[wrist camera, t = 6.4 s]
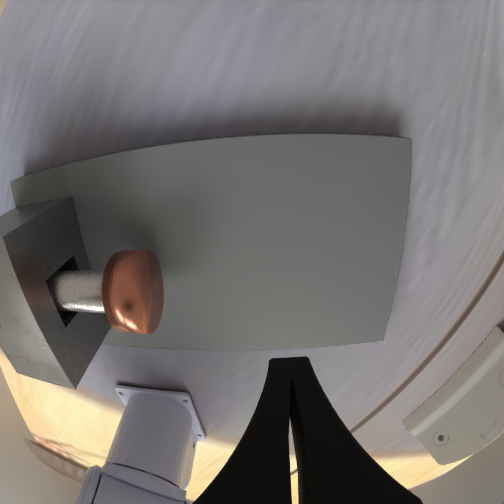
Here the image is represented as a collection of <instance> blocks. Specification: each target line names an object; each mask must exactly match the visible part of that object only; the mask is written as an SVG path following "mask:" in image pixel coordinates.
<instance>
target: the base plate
mask: <svg viewBox="0 0 504 504" xmlns="http://www.w3.org/2000/svg"><path fill="white" fill-rule="evenodd" d="M411 159H412V139H410V138H405V137H399V136H387V135H372V134H351V133H279V134H257V135H241V136H229V137H217V138H207V139H198V140H190V141H182V142H174V143H167V144H161V145H154V146H148V147H142V148H136V149H131V150H126V151H120V152H115V153H110V154H106V155H101V156H96V157H92V158H88V159H83V160H79V161H75V162H71V163H67V164H63V165H60V166H56V167H52V168H49V169H45V170H42V171H39V172H35V173H32V174H29V175H25V176H23V177H20V178H18V179H15V180H13V181H10V182H11V187H12V191H13V196H14V201H15V205H16V207H20V206H24V205H29V204H33V203H38V202H43V201H48V200H53V199H58V198H63V197H68V196H73V200H74V205H75V209H76V214H77V218H78V222H79V226H80V230H81V234H82V238H83V241H84V245H85V248H86V252H87V255H88V259H89V262H90V265H91V268H92V270H105V267H106V264H107V262H108V260H109V259H110V257H111V256H112V255H113V254H114V253H116V252H118V251H129V250H150V251H152V252H153V253H154V255H155V256H156V258H157V260H158V262H159V265H160V268H161V272H162V277H163V286H164V304H163V312H162V317H161V320H160V323H159V325H158V327H157V329H156V330H155V331H154V332H153V333H152V334H137V333H122V332H118V331H116V330H115V329H114V328H113V327H111V329H110V330H109V332H108V334H107V335H106V337H105V338H104V340H103V342H102V343H101V344H110V345H120V346H131V347H144V348H160V349H181V350H275V349H296V348H312V347H326V346H337V345H348V344H357V343H366V342H375V341H383V340H384V336H385V332H386V329H387V325H388V321H389V316H390V312H391V308H392V303H393V299H394V294H395V289H396V284H397V279H398V274H399V269H400V263H401V257H402V251H403V244H404V237H405V230H406V221H407V213H408V203H409V192H410V178H411Z"/></svg>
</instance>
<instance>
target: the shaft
mask: <svg viewBox="0 0 504 504" xmlns="http://www.w3.org/2000/svg"><path fill="white" fill-rule="evenodd" d="M46 284H47V286H48V289H49V291H50V294H51V296H52V299H53V301H54V303H55V306H56V308H57V310H64V311H77V312H92V313H105V314H106V317H107V319H108V321H109V323H110V324H111V326H112V327H113V328H114V329H115V330H116V331H118V332H122V333H137V334H152V333H153V332H154V331H155V330H156V329H157V327H158V325H159V323H160V320H161V317H162V312H163V304H164V286H163V277H162V272H161V268H160V265H159V262H158V260H157V258H156V256H155V255H154V253H153V252H152V251H150V250H129V251H118V252H116V253H114V254H113V255H112V256H111V257H110V259H109V260H108V262H107V264H106V267H105V270H82V271H56V272H55V273H54V274H52V275H51V276H50V277H49V278H48V279H47V280H46Z"/></svg>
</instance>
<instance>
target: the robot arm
mask: <svg viewBox="0 0 504 504" xmlns="http://www.w3.org/2000/svg"><path fill="white" fill-rule="evenodd" d="M115 390H116V392H117V393H118V395H119V397H120V399H121V400H122V402H123V403H124V405H125V410H124V413H123V415H122V418H121V420H120V423H119V426H118V428H117V431H116V434H115V437H114V439H113V442H112V445H111V447H110V450H109V453H108V456H107V459H106V462H105V464H104V465H103V467H102V468H101V467H100V466H98V465H94V467H93V466H92V467H89V468H88V470H87V472H86V475H85V477H84V480H83V483H82V486H81V488H80V491H79V494H78V497H77V500H76V503H75V504H292V497H291V477H290V458H289V439H288V436H289V420H290V421H291V427H292V434H293V441H294V448H295V454H296V461H297V470H298V495H299V504H423V503H422V501H421V499H420V498H418V497H417V496H416V495H414V494H412V493H411V492H410V491H409V490H407V489H406V488H405V487H403V486H402V485H401V484H399V483H398V482H397V481H396V480H395V479H394V478H392V477H391V476H390V475H389V474H388V473H387V472H386V471H385V470H384V469H383V468H382V467H381V466H380V465H379V464H378V463H377V462H376V461H375V460H374V459H373V458H372V457H371V456H370V455H369V454H368V453H367V452H366V451H365V450H364V449H363V448H362V446H361V445H360V444H359V443H358V442H357V440H356V439H355V438H354V437H353V436H352V434H351V433H350V432H349V430H348V429H347V428H346V426H345V425H344V423H343V422H342V420H341V419H340V417H339V416H338V414H337V413H336V411H335V410H334V408H333V407H332V405H331V403H330V402H329V400H328V398H327V396H326V395H325V393H324V391H323V389H322V387H321V385H320V383H319V381H318V379H317V377H316V375H315V373H314V370H313V368H312V365H311V363H310V360H309V358H308V357H290V358H272V359H271V360H269V367H268V373H267V377H266V381H265V384H264V388H263V391H262V394H261V396H260V399H259V402H258V405H257V407H256V410H255V412H254V414H253V416H252V418H251V421H250V423H249V425H248V427H247V429H246V431H245V433H244V435H243V437H242V438H241V440H240V442H239V444H238V445H237V447H236V449H235V450H234V452H233V453H232V455H231V456H230V458H229V459H228V461H227V462H226V464H225V465H224V467H223V468H222V470H221V471H220V472H219V474H218V475H217V476H216V477H215V479H214V480H213V481H212V482H211V483H210V485H209V486H208V487H207V488H206V489H205V491H204V492H203V493H202V494H201V495H200V496H199V497H198V498H197V499H196V500H195V501H194V502H193V503H191V501H190V500H188V499H186V492H187V491H186V490H184V489H185V488H186V487H187V485H188V484H189V482H190V478H191V473H192V467H193V461H194V455H195V450H196V444H197V441H205V440H206V436H205V434H204V431H203V429H202V426H201V424H200V421H199V419H198V416H197V414H196V411H195V408H194V406H193V403H192V400H191V398H190V395H189V394H188V393H185V392H175V391H164V390H154V389H145V388H137V387H129V386H122V385H116V387H115ZM503 504H504V503H503Z"/></svg>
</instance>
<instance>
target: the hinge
mask: <svg viewBox="0 0 504 504" xmlns="http://www.w3.org/2000/svg"><path fill="white" fill-rule="evenodd" d="M402 423H403V425H404V426H405V428H406V429H407V431H408V432H409V433H410V434H412V435H414V436H416V437H417V438H418V439H419V441H420V442H421V443H422V444H423V446H424V447H425V448H426V449H427V450H428V452H429V453H430V454H431V455H432V457H433V458H434V459H435V460H436V462H437V463H438V464H440V465H446V464H449V463H453V462H456V461H458V460H461V459H464V458H466V457H468V456H470V455H472V454H474V453H476V452H478V451H479V450H481V449H482V448H484V447H485V446H487V445H488V444H490V443H491V442H492V441H494V440H495V439H496V438H498V437H499V436H500V435H501V434H502V433H503V432H504V332H503V331H502V330H501V329H500V328H499V327H498V326H495V327H494V328H493V330H492V331H491V332H490V333H489V335H488V336H487V337H486V339H485V340H484V341H483V342H482V343H481V345H480V346H479V347H478V348H477V349H476V351H475V352H474V353H473V354H472V355H471V356H470V357H469V359H468V360H467V361H466V362H465V363H464V364H463V365H462V366H461V367H460V368H459V369H458V371H457V372H456V373H455V374H454V375H453V376H452V377H451V378H450V379H449V380H448V381H447V382H446V383H445V384H444V385H443V386H442V387H441V388H440V389H439V390H438V391H437V392H436V393H435V394H434V395H432V396H431V397H430V398H429V399H428V400H427V401H426V402H425V403H424V404H423V405H421V406H420V407H419V408H418V409H417V410H416V411H415V412H413V413H412V414H411V415H410V416H409V417H408V418H406V419H405V420H404V421H403V422H402Z"/></svg>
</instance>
